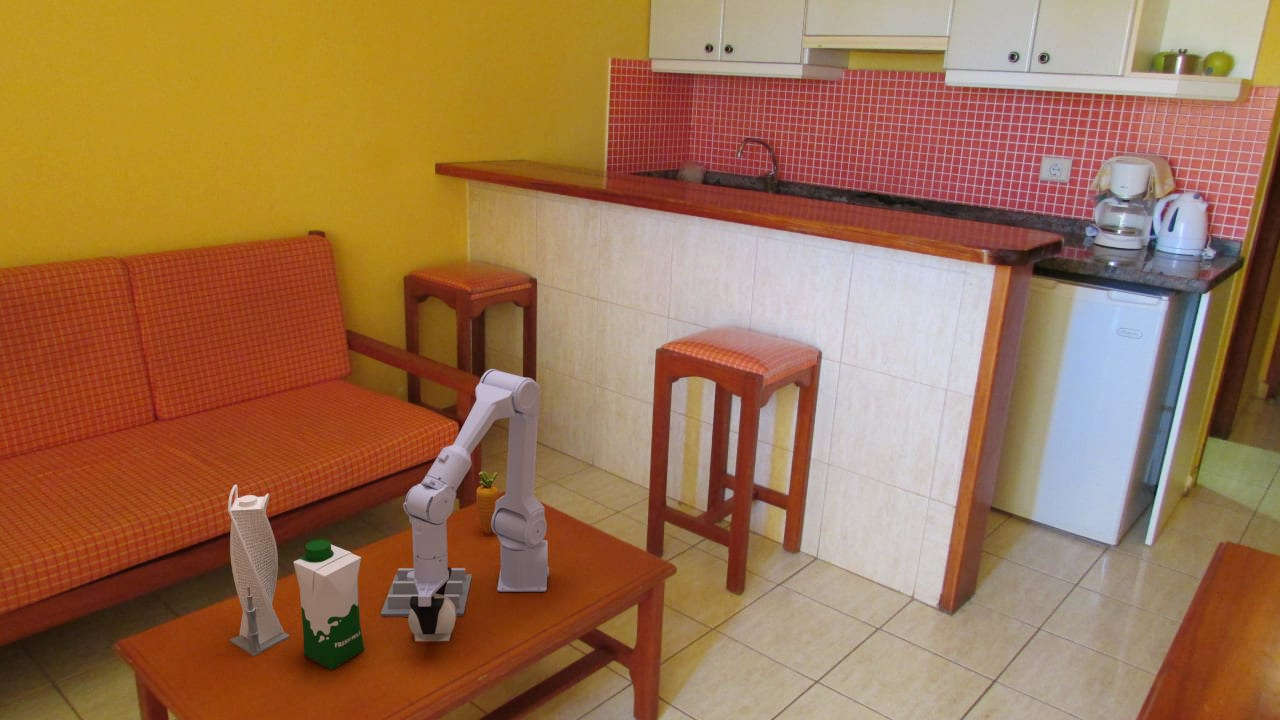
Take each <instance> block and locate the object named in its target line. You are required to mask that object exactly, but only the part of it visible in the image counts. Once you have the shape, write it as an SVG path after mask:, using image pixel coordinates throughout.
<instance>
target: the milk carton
mask: <svg viewBox="0 0 1280 720" xmlns="http://www.w3.org/2000/svg"><path fill="white" fill-rule="evenodd" d="M361 561H362V557H361V556H359V555H356V554H354V553H352V552H351V551H349V550H345V549H343V548H341V547H339V546H336V545H333V544H332V542H331V541H330V540H328V539H323V538H319V539H318V538H317V539H314V540H311V541H309V542H307V543H306V544H305V555H304V556H302V557H300V558H299V559H296V560H294V561H293V567H294V571H295V575H296V578H297V582H298V586H299V587H298V588H299V595H300V597H299V598H300V599H299V600H300V609H301V621H302V634H303V636H302V637H303V656H304V657H306V658H308V659H310V660H312V661H314V662H316V663H318V664H320V665H321V666H323V667H325V668H327V669H329V670H331V671H333V670H334V669H336V668H337V667H339V666H340V665H342V664H345V662H347V661H349V660H350V659H352V658H353V657H355V656H356V655H358V654H359V653H361V652H363V651H364V650H365V645H364V640H363V633H362V625H361V619H360V618H361V616H360V601H359V600H360V599H359V584H358V578H359V572H360V568H361V566H360V565H361Z"/></svg>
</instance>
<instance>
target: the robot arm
mask: <svg viewBox="0 0 1280 720" xmlns="http://www.w3.org/2000/svg"><path fill="white" fill-rule="evenodd" d="M474 391H475V394H474V395H475V399H476V400H475V402H474V404H473V405H472V407H471V410H470V412H469V414H468V415H467V418H466V420H465V422H464V423H463V425H462V427H461V429H460V431H459V433H458V435H457V436H456V438H455V440H454V442H453V444H451V445H448V446H445V447H443V448H442V449H441V450H440V452H439V454H438V456H437V457H436V459H435V460H434V462H433V464H432V465H431V467H430V468H429V470H428V471H427V473H426V474H425V476H424V478H423V479H422V481H421V483H417V484H416V485H414V486H412V487H411V488H410V489H409V490H408V492H407V494H406V497H405V499H404V500H405V502H404V503H403V505H402V508H403V510H404V512H405V514H407V516H408V518H409V519H408V520H409V524H410V525H411V531H412V532H411V533H412V552H413V554H412V556H413V557H412V559H413V568H414V571H410V572H408V575H407V580H411V581H414V584H415V587H416V589H417V592H418V596H411V599H410V607H411V608H412V610H413V611H414V612H415V614H416V616H417V618H418V621H419V624H420V627H421V630H422V633H423V634H435V631H436V627H437V621H438V614H439V611H440V609H441V607H442V605H443V603H444V599H445V598H434V596H433V595H434V594H435V593H436V594H441V595H443V596H444V594H445V588H446V584H447V582H448V580H449V578H450V576H451V572H452V569H451V568H452V567H448V566H449V565H448V537H447V536H448V535H447V533H448V531H447V530H448V529H447V519H448V518H449V517H450V516H451V514H452V513H453V511H454V506H455V500H456V498H457V490H458V488H459V487H460V485H461V483H462V482H463V480H464V478H465V477H466V475H467V473H468V472H469V470H470V468H471V466H472V465H473V464H472V459H471V458H472V457H471V454H472V453H473V452H474V450H475V449H476V447H477V446H478V445H479V443H480V442H481V441H482V439H483V437H484V436H485V435H486V433H487V432H488V431H489V429H490V428H491V427H492V425H493V424H494V423H495V421H496V420H501V419H506V418H509V423H508V426H509V427H508V439H507V440H508V441H507V460H506V462H507V464H506V480H505V481H506V482H505V494H504V495H502V496H501V497H499V499H498V500H497V501H496V504H495V511H494V514H493V516H492V520H491V527H492V532H493V533H494V534H495V535H496V536H497V540H498V541H499V543H500V545H499V546H500V571H499V576H498V577H499V578H498V581H497V582H498V583H497V588H496V590H497V592H499V593H505V592H506V593H510V592H511V593H514V592H516V593H517V592H518V593H520V592H521V593H523V592H528V593H529V592H531V593H535V592H537V593H539V592H540V593H541V592H543V593H544V592H546V591H547V589H548V587H547V586H548V577H549V576H550V567H549V566H548V565H549V563H548V559H549V558H548V557H549V556H548V555H549V554H548V553H549V552H548V551H549V549H548V546H549V544H548V542H549V541H548V540H545V539H544V538H545V536H546V534H547V527H548V526H547V525H548V524H547V518H546V517H545V516H546V515H545V511H546V508H545V506H544V505H543V504H542V503H541V501H540V500H539V499H538V498H537V497H536V495H535V494H534V493H535V481H536V480H535V477H536V464H537V463H536V461H537V447H538V446H537V443H538V430H539V429H538V427H539V415H540V402H541V401H540V397H541V385H540V384H539V383H537V382H536V381H535V380H534V379H533V378H531V377H524V376H521V375H517V374H513V373H508V372H504V371H501V370H499V369H495V368H490V369H487V370H486V371H485V372H484V373H483V375H481V377H480V379H479V383H477V385H476V387H475V390H474Z"/></svg>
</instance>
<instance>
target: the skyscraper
mask: <svg viewBox="0 0 1280 720" xmlns="http://www.w3.org/2000/svg"><path fill="white" fill-rule="evenodd" d="M238 487H239V486H238V485H237V483H236V484H234V485H233V486H232V488H231V490H230V493H229V497H228V500H227V501H228V503H227V513H228V514H229V517H230V519H231V523H230V535H229V536H230V537H229V541H230V542H229V545H230V546H229V551H230V552H229V553H230V554H229V555H230V563H231V569H232V571H231V572H232V576H233V581H234V584H235V588H236V594H237V596H238V599H239V603H240V606H241V608H242V616H241V621H240V628H239V634H238V635H236V636H235V637H232V638H231V639H229V642H230V644H232V643H233V644H232V645H234V644H235V645H234V646H235V647H237V646H238V648H239V647H240V648H241V650H242V649H243V650H242V651H243V652H245V651H246V652H245V653H247V654H248V655H250V654H251V655H250V656H252V657H256V656H258V655H259V654H261V653H263V651H264V652H265V651H267V650H269V649H271V648H273V647H275V646H277V645H278V643H279V644H280V642H281V643H282V642H285V641H286V640H288V639H290V638H291V637H290V636H291V635H290V634H288V633H286V632H285V630H284V629H283V627H282V625H281V623H280V620H279V618H278V615H277V613H276V611H275V609H274V606H273V601H274V598H275V592H276V587H277V582H278V572H279V571H278V569H279V558H278V557H279V554H278V547H277V542H276V538H275V535H274V532H273V529H272V525H271V523H270V521H269V518H268V515H267V512H266V511H267V507H268V503H269V500H270V497H271V496H270V494H269V493H268V492H267V493H266V494H265V495H264V496H257V495H254V494H249V495H244V496H241V497H238V495H239V494H238V492H239V491H238ZM233 495H234V501H233V503H232V499H233ZM276 644H277V645H276ZM240 648H239V649H240Z"/></svg>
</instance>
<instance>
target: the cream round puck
mask: <svg viewBox="0 0 1280 720" xmlns="http://www.w3.org/2000/svg"><path fill="white" fill-rule="evenodd" d="M433 596H434V598H445V599H444V603H443V605H442V607H441V609H440V611H439V614H438V621H437V627H436V631H435V634H423V633H422V630H421V627H420V624H419V621H418V618H417V616H416V614H415V612H414V611H413V610H412V608H411V611H410V614H409V617H408V618H407V619H408V620H407V621H408V628H409V629H410V631H411V632H412V633H413V635H414V641H415V642H450V640H451V635H452V632H453V630H454V629H455V628H454V627H455V624H456V623H455V622H456V619H457V616H456V608H455V605H454V604H453V602H452V601H451V600H450V599H449V598H447V597H446V596H443V595H441V594H436V593H435V594H434V595H433Z"/></svg>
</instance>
